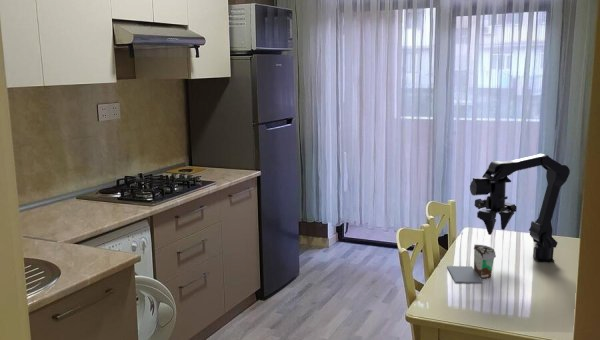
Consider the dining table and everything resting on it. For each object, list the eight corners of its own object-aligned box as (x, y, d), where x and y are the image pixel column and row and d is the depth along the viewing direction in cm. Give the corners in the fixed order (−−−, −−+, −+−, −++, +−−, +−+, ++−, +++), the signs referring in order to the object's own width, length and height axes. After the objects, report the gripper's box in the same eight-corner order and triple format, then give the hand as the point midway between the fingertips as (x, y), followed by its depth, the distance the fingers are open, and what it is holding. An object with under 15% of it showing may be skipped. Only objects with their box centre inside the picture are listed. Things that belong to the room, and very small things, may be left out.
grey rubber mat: (471, 267, 221) (471, 266, 221) (482, 283, 205) (482, 281, 205) (447, 267, 221) (447, 266, 221) (455, 283, 206) (455, 281, 206)
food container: (499, 280, 208) (500, 254, 206) (482, 280, 208) (483, 254, 206) (488, 268, 220) (490, 244, 218) (472, 268, 220) (474, 244, 218)
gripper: (492, 186, 233) (491, 223, 236) (465, 194, 222) (464, 232, 225) (517, 190, 225) (516, 228, 228) (490, 199, 213) (489, 239, 216)
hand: (496, 232), depth 224 cm, fingers open, 9 cm apart
